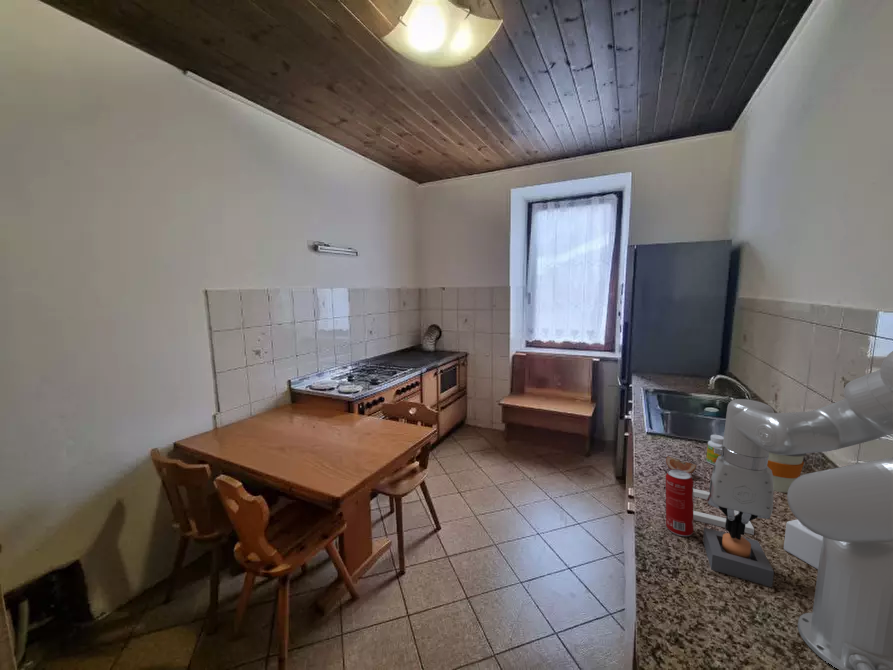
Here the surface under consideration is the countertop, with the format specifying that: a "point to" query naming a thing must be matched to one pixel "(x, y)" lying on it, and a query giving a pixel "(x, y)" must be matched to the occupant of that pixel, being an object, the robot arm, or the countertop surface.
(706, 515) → the white picture frame
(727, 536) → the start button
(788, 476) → the reusable coffee cup
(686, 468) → the fruit slice
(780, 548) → the countertop surface
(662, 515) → the countertop surface
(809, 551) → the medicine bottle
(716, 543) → the grey square holder
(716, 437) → the supplement bottle
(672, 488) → the beverage can
